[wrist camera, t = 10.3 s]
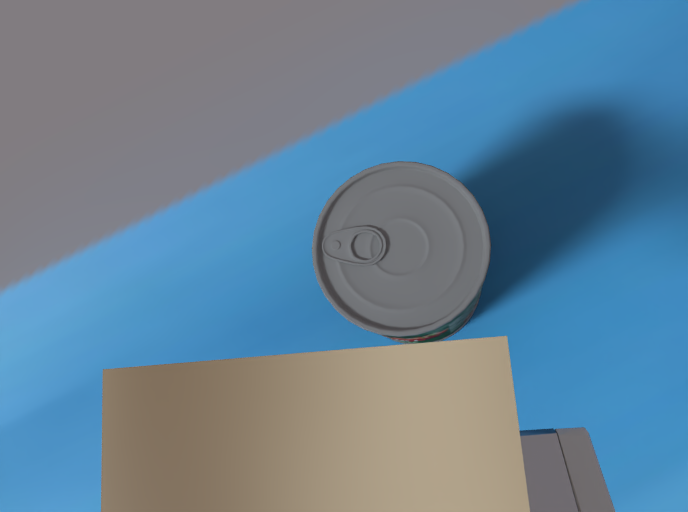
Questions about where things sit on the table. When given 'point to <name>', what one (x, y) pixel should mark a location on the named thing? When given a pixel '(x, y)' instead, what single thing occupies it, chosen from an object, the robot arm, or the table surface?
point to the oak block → (317, 432)
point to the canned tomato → (403, 252)
